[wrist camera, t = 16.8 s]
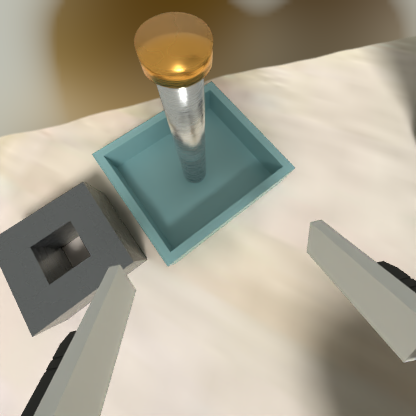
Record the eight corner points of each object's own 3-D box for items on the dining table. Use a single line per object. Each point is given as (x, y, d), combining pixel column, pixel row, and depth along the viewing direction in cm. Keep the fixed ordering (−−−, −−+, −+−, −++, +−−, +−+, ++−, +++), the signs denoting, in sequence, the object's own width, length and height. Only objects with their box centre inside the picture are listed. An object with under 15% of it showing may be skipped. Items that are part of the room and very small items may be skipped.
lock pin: (197, 153, 24) (183, 1, 9) (215, 174, 23) (229, 44, 9) (174, 169, 23) (119, 33, 9) (191, 191, 23) (162, 82, 8)
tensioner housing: (103, 193, 24) (83, 181, 20) (147, 259, 22) (133, 261, 18) (27, 242, 22) (-12, 241, 18) (66, 320, 20) (32, 336, 16)
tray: (210, 105, 27) (211, 81, 23) (281, 181, 24) (295, 167, 20) (110, 169, 24) (92, 154, 21) (174, 263, 21) (167, 266, 18)
